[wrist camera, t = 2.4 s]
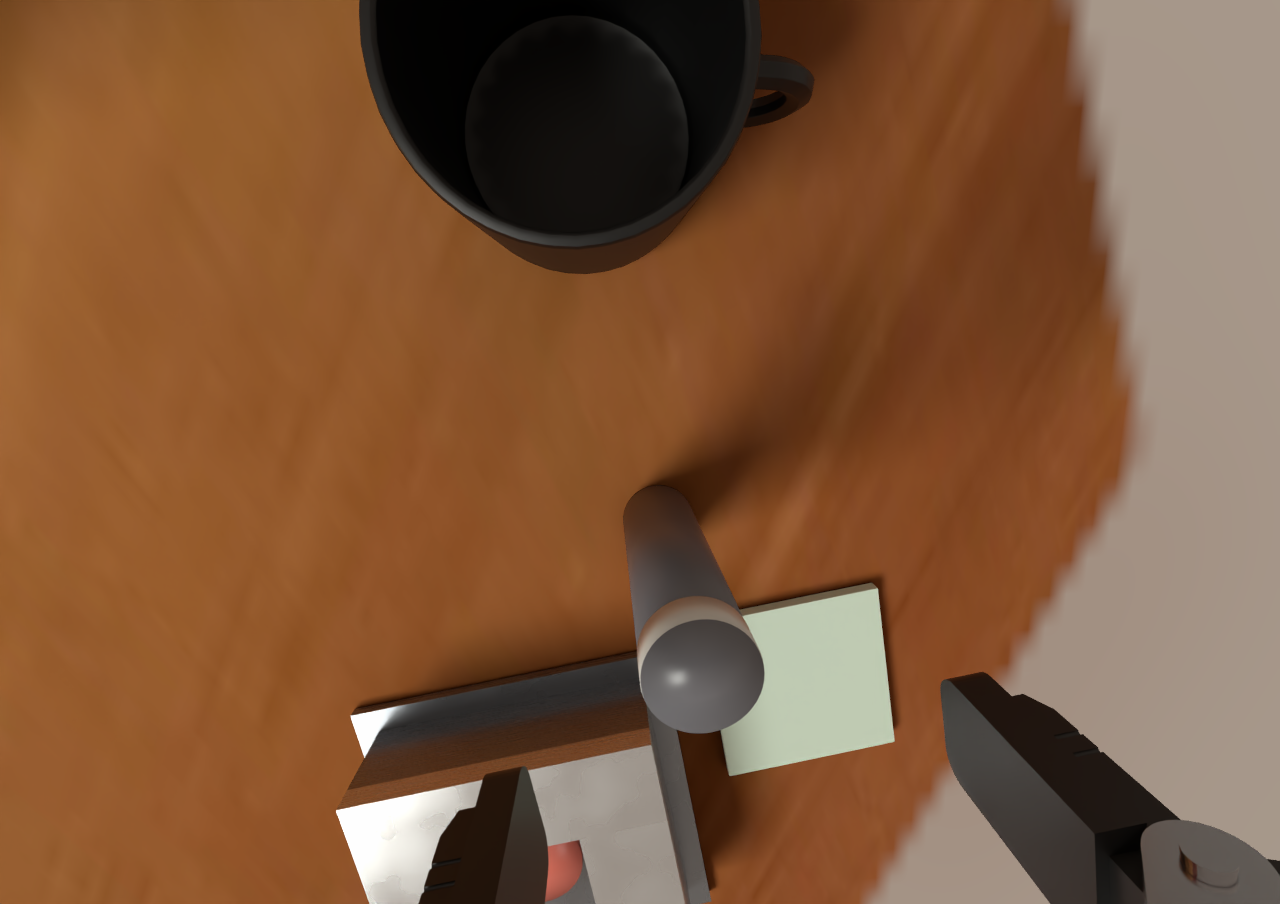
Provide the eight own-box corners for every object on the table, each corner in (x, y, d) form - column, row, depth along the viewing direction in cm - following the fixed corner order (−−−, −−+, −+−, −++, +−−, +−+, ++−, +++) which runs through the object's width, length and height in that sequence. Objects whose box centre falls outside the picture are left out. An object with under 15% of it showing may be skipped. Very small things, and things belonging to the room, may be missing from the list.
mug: (768, 267, 24) (863, 237, 16) (465, 279, 24) (385, 256, 15) (768, 0, 22) (878, -209, 13) (437, 6, 22) (324, -209, 13)
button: (503, 894, 27) (500, 911, 26) (481, 820, 26) (477, 835, 25) (591, 875, 27) (591, 892, 26) (572, 801, 26) (571, 816, 25)
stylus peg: (629, 557, 27) (652, 745, 15) (616, 492, 26) (628, 635, 14) (698, 544, 27) (773, 720, 15) (686, 478, 26) (755, 609, 14)
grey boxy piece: (436, 950, 30) (404, 1071, 26) (355, 709, 27) (301, 793, 22) (709, 891, 31) (729, 1000, 26) (659, 646, 28) (672, 716, 23)
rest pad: (726, 767, 29) (729, 776, 29) (699, 617, 27) (701, 624, 27) (888, 733, 29) (894, 741, 29) (871, 582, 28) (877, 588, 27)
